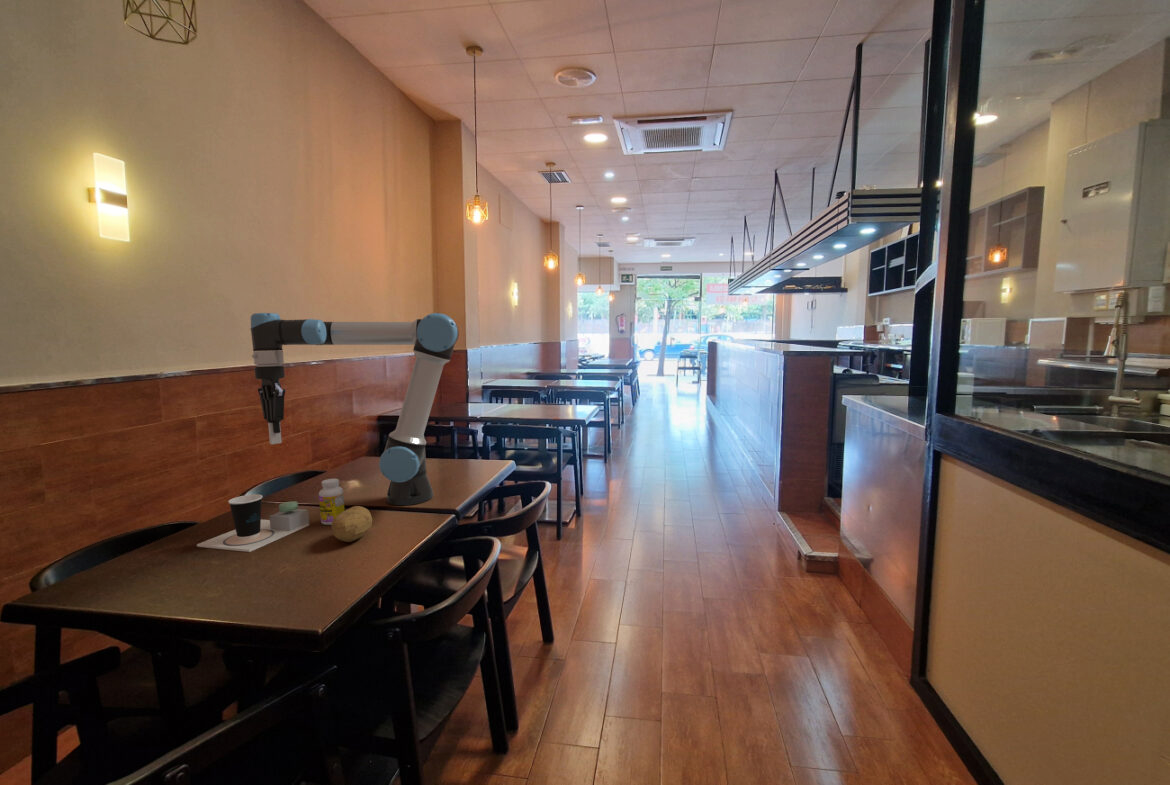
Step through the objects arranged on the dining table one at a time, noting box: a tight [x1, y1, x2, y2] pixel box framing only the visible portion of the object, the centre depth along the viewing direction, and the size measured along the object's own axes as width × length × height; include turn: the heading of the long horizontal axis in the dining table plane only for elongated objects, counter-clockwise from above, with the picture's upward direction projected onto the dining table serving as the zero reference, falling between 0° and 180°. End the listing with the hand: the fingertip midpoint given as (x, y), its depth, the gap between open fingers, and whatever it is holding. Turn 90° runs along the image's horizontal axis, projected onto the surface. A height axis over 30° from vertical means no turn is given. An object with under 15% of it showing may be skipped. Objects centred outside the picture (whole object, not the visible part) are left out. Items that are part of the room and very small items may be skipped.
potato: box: [330, 505, 373, 543], centre depth 139 cm, size 10×14×8 cm
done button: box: [278, 500, 299, 514], centre depth 149 cm, size 5×5×6 cm
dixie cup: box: [227, 493, 263, 540], centre depth 141 cm, size 8×8×11 cm
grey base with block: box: [196, 508, 310, 553], centre depth 144 cm, size 18×20×5 cm
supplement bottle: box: [318, 478, 346, 526], centre depth 153 cm, size 7×7×13 cm
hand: (275, 443), depth 153 cm, fingers closed
